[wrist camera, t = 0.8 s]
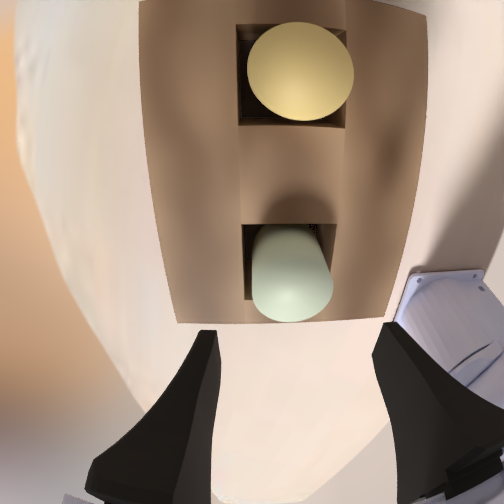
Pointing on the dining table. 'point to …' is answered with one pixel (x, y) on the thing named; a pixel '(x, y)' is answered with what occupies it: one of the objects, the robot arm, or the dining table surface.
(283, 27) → the mustard peg
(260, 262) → the sage peg
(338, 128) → the peg block
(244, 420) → the dining table surface
